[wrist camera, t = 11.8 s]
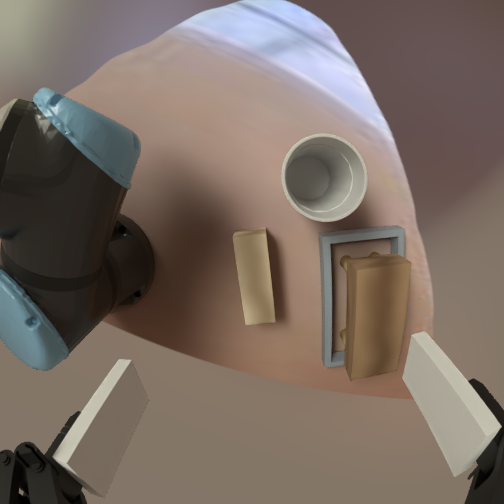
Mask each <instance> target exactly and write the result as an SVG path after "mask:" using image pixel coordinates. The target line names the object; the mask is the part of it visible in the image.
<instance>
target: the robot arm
mask: <svg viewBox="0 0 504 504" xmlns="http://www.w3.org/2000/svg"><path fill="white" fill-rule="evenodd" d="M33 100H34V101H33V102H29V101H25V100H21V99H17V98H16V99H14V100H12V101H11V102H9V103H8V104H7V105H5V106H4V107H2V108H1V109H0V239H1V249H0V339H1V340H2V341H3V343H4V344H5V345H6V346H7V347H8V349H9V350H10V351H11V352H12V353H13V354H14V355H15V356H16V357H17V358H18V359H19V360H21V361H22V362H23V363H25V364H26V365H28V366H29V367H32V368H33V369H36V370H42V371H48V370H51V369H52V368H54V367H55V366H56V365H57V364H59V363H60V362H61V361H62V360H64V359H66V358H67V357H68V356H69V353H70V352H71V351H72V350H73V349H74V348H75V347H76V346H77V345H78V344H79V343H80V342H81V341H82V340H83V339H84V338H85V336H87V335H88V334H89V333H90V332H91V331H92V330H93V329H94V328H95V326H97V325H98V324H99V323H100V322H101V321H102V320H103V319H104V318H105V317H106V316H107V315H108V314H109V313H113V312H116V311H120V310H123V309H127V308H129V307H131V306H133V305H135V304H136V303H137V302H138V301H139V300H140V299H141V298H142V297H143V296H144V295H145V294H146V293H147V291H148V290H149V288H150V286H151V284H152V281H153V277H154V257H153V252H152V249H151V246H150V244H149V241H148V239H147V237H146V236H145V234H144V233H143V231H142V230H141V229H140V228H139V226H138V225H137V224H136V223H134V222H133V221H132V220H131V219H129V218H128V217H126V216H124V215H122V214H119V212H120V209H121V206H122V204H123V201H124V198H125V196H126V193H127V190H129V189H130V187H131V183H130V181H131V178H132V175H133V172H134V169H135V166H136V164H137V161H138V158H139V156H140V152H141V144H140V140H139V138H138V136H137V135H136V134H135V133H134V132H133V131H131V130H130V129H128V128H126V127H125V126H123V125H121V124H119V123H117V122H116V121H114V120H112V119H110V118H108V117H106V116H104V115H102V114H100V113H98V112H96V111H94V110H93V109H91V108H88V107H86V106H84V105H82V104H80V103H78V102H76V101H74V100H72V99H70V98H67V97H65V96H63V95H61V94H59V93H56V92H54V91H53V90H50V89H48V88H42V89H40V90H39V91H38V92H37V93H36V94H35V95H34V97H33ZM402 379H403V381H404V382H405V384H406V386H407V388H408V389H409V391H410V393H411V395H412V396H413V398H414V400H415V402H416V403H417V405H418V407H419V409H420V410H421V412H422V414H423V416H424V418H425V420H426V422H427V423H428V425H429V427H430V429H431V431H432V433H433V435H434V437H435V439H436V440H437V443H438V445H439V446H440V448H441V450H442V452H443V454H444V457H445V459H446V460H447V463H448V465H449V467H450V469H451V471H452V473H453V475H454V477H455V476H457V475H459V474H461V473H462V472H464V471H466V470H468V469H469V468H470V467H471V466H472V465H473V464H474V463H475V461H476V462H477V464H478V466H477V467H476V468H475V469H474V471H473V472H472V473H471V474H470V475H469V477H468V479H470V478H471V477H472V476H473V475H474V477H473V480H472V484H471V486H470V490H469V493H468V496H467V498H466V501H465V504H504V410H503V409H502V407H501V406H500V405H499V403H498V402H497V401H496V400H495V399H494V397H493V396H492V395H491V393H489V391H488V390H487V389H486V387H485V386H484V385H483V384H482V383H480V382H479V381H477V380H475V379H471V380H469V381H467V380H466V379H465V377H464V376H463V375H462V374H461V373H460V371H459V370H458V369H457V368H456V366H454V364H453V363H452V362H451V360H450V359H449V358H448V357H447V356H446V355H445V353H444V352H443V351H442V350H441V349H440V348H439V346H437V344H436V343H435V342H434V341H433V340H432V339H431V337H430V336H429V335H428V334H427V333H426V332H425V331H423V332H420V333H416V334H412V335H411V341H410V346H409V351H408V356H407V360H406V365H405V369H404V373H403V377H402ZM148 402H149V398H148V396H147V394H146V392H145V390H144V388H143V386H142V383H141V381H140V378H139V376H138V375H137V372H136V369H135V367H134V364H133V362H132V360H123V359H119V360H118V361H117V363H116V364H115V365H114V367H113V368H112V369H111V371H110V372H109V374H108V375H107V376H106V378H105V379H104V381H103V382H102V383H101V385H100V386H99V388H98V389H97V391H96V392H95V393H94V395H93V396H92V398H91V399H90V401H89V402H88V404H87V405H86V406H85V408H84V409H83V411H82V412H79V411H78V412H76V413H75V414H74V415H73V416H71V417H70V418H69V419H68V421H67V422H66V424H65V427H63V428H62V430H61V433H59V434H58V436H57V437H56V439H55V440H54V442H53V443H52V445H51V446H50V448H49V449H48V451H47V452H46V454H45V455H43V453H41V452H40V450H39V449H38V448H37V447H36V446H35V445H34V444H33V443H31V442H24V443H21V444H20V445H18V446H17V448H16V449H15V451H14V453H13V452H12V451H10V450H3V451H1V452H0V504H87V502H86V499H85V496H84V494H83V492H82V491H81V489H82V487H84V488H85V489H86V490H88V492H90V493H91V494H94V495H97V496H99V497H102V498H105V496H106V494H107V492H108V489H109V487H110V485H111V483H112V480H113V478H114V476H115V473H116V471H117V469H118V467H119V464H120V462H121V460H122V458H123V456H124V453H125V451H126V449H127V446H128V445H129V442H130V440H131V438H132V436H133V434H134V431H135V429H136V427H137V425H138V423H139V421H140V419H141V416H142V414H143V412H144V410H145V408H146V406H147V404H148ZM19 488H20V489H21V490H23V491H24V494H23V496H22V495H21V494H19Z"/></svg>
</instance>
